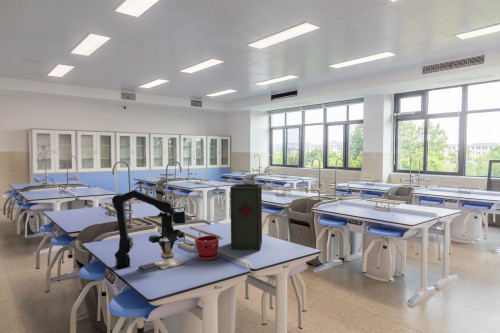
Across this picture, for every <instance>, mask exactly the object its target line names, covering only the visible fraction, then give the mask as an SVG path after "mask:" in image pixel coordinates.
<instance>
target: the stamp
mask: <svg viewBox="0 0 500 333" xmlns="http://www.w3.org/2000/svg"><path fill="white" fill-rule="evenodd" d="M164 241H165V240H164ZM164 247H165V253H163V251H162V252H160V257H161V259H163V260H167V259H172V258H174V252H172V250H171V246H170V241H169V240H167V241H165V243H164ZM174 259H175V258H174Z"/></svg>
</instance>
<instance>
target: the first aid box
mask: <svg viewBox="0 0 500 333" xmlns="http://www.w3.org/2000/svg"><path fill="white" fill-rule="evenodd" d="M262 187H263V186H262V184H260V183H257V184H256V183H254V184H253V183H248V184H247V183H241V184H239V183H237V184H235V183H234V184H232V186H230V187H229V188H230V250H231V251H261V248H262V243H263V224H262V223H263V217H262V215H263V214H262V213H263V212H262V210H263V208H262V207H263V205H262V202H263V201H262V199H263V198H262V196H263V195H262V194H263V193H262V191H263V190H262V189H263V188H262Z"/></svg>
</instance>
